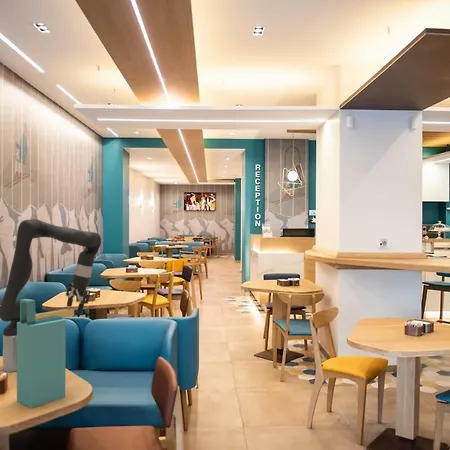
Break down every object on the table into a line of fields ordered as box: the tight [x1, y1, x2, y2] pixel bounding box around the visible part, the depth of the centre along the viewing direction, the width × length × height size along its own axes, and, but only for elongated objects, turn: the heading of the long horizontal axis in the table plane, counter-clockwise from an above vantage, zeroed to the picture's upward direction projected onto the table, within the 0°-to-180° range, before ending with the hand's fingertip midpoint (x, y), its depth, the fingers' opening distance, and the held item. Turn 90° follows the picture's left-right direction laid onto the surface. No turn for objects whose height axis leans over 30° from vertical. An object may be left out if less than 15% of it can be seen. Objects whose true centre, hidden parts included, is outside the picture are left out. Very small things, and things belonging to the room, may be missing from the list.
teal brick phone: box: [16, 298, 67, 409], centre depth 193 cm, size 11×15×41 cm
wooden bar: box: [26, 307, 75, 323], centre depth 197 cm, size 3×20×3 cm, turn 142°
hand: (74, 309), depth 217 cm, fingers open, 8 cm apart
